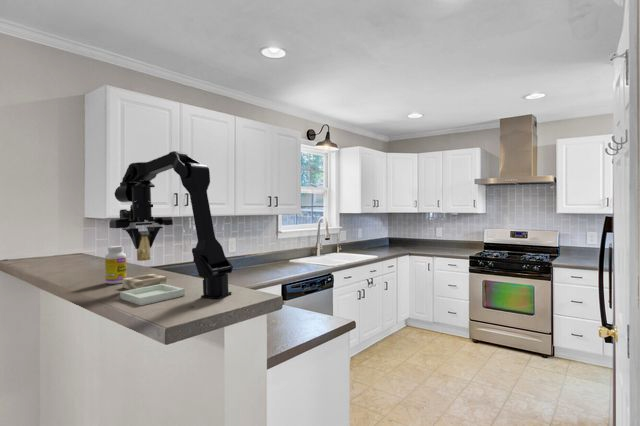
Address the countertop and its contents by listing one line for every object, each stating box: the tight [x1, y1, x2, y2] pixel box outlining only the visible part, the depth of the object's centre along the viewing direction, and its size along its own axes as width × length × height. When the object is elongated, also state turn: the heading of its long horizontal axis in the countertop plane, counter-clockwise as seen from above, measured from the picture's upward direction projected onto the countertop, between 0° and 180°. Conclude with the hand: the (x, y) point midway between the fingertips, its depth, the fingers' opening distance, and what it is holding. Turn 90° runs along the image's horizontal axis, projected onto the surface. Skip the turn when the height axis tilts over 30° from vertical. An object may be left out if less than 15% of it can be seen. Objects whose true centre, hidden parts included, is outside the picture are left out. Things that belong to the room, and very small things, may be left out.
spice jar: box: [136, 230, 151, 262], centre depth 125 cm, size 5×5×10 cm
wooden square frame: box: [122, 273, 168, 290], centre depth 126 cm, size 10×10×3 cm
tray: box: [119, 284, 186, 306], centre depth 111 cm, size 13×13×2 cm
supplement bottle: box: [104, 245, 128, 285], centre depth 134 cm, size 7×7×13 cm
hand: (143, 248), depth 125 cm, fingers closed on spice jar, 4 cm apart
